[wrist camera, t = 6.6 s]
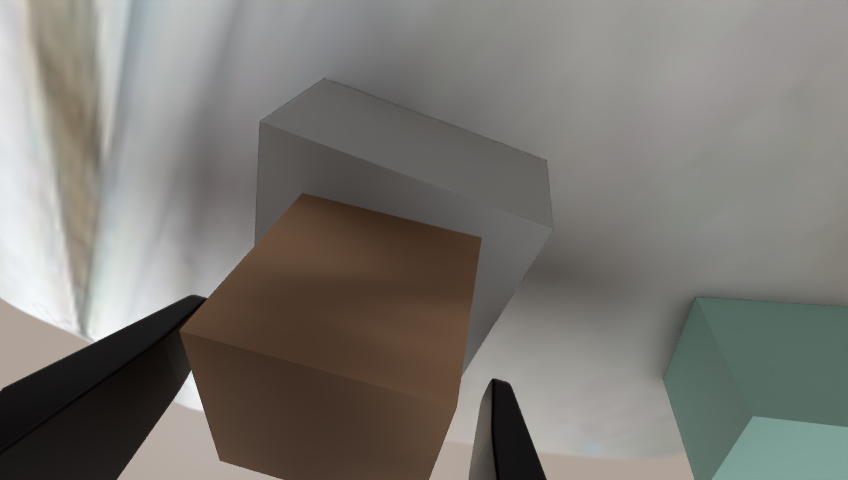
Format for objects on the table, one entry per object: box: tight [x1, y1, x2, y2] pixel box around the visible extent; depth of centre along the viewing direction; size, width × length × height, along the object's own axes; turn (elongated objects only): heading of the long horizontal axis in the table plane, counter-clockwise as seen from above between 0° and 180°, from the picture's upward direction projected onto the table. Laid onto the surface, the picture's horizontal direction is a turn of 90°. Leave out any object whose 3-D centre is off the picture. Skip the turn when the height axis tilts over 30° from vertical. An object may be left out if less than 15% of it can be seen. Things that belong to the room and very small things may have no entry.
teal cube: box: [663, 297, 848, 480], centre depth 13 cm, size 4×4×4 cm
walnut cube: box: [179, 193, 482, 480], centre depth 9 cm, size 4×4×4 cm
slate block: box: [255, 78, 553, 377], centre depth 13 cm, size 7×7×4 cm
